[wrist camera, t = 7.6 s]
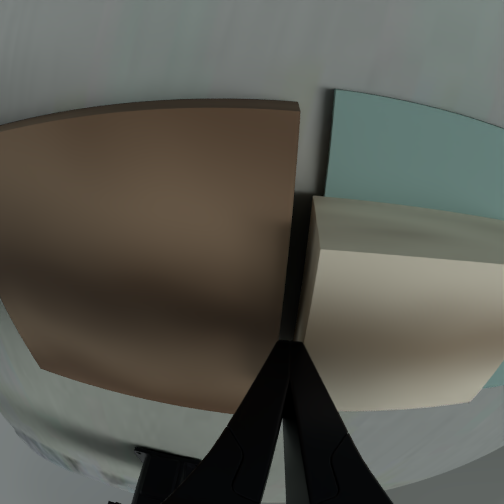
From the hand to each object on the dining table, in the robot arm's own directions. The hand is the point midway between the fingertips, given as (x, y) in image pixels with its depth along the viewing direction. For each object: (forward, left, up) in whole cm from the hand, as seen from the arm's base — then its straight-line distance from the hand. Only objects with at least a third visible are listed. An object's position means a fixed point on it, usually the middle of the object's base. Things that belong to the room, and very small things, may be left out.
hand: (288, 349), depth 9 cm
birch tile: (0, -4, -3) cm, 5 cm away
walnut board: (0, +7, -3) cm, 7 cm away
